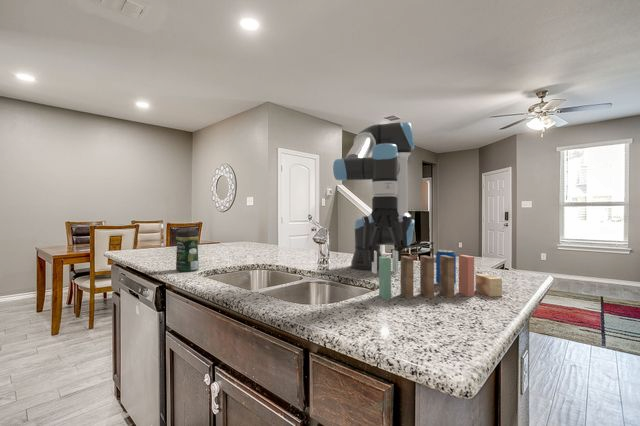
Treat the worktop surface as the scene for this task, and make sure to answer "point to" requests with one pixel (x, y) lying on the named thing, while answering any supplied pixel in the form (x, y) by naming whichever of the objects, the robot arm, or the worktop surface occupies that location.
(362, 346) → the worktop surface
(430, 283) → the tile
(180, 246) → the coffee jar
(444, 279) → the tile
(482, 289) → the oak block
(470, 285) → the red end tile
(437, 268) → the blue rectangular box
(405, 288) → the tile
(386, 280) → the green tile
